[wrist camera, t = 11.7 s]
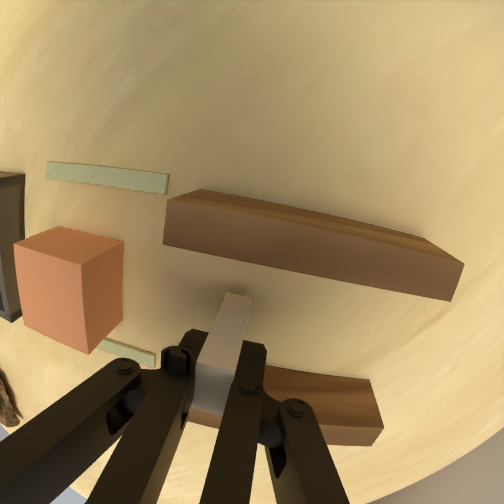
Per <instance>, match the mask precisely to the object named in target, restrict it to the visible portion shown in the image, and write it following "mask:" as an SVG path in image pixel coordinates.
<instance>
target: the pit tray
mask: <svg viewBox="0 0 504 504" xmlns="http://www.w3.org/2000/svg"><path fill="white" fill-rule="evenodd" d="M24 185H25V174H19V173H8V172H0V317H2V318H4V319H6V320H7V321H9V322H11V323H13V322H14V321H15V320H17V319H18V318H20V317H21V316H22V315H23V314H22V309H21V303H20V297H19V291H18V284H17V276H16V267H15V257H14V243H16V242H19V241H21V240H24V239H25V234H24Z"/></svg>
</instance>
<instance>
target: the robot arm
mask: <svg viewBox="0 0 504 504" xmlns="http://www.w3.org/2000/svg"><path fill="white" fill-rule="evenodd" d="M252 300H253V298H251V297H247V296H242V295H238V294H233V293H229V292H227V293H226V295H225V298H224V300H223V302H222V304H221V307H220V309H219V311H218V313H217V316H216V318H215V320H214V323H213V325H212V327H211V329H210V332H209V333H208V332H204V331H200V330H196V329H191V330H190V331H188V332H186V333H185V335H184V337H183V338H182V340H181V342H180V344H179V345H178V346H170V347H167V348H165V349H163V350H162V351H161V368H160V369H155V370H149V369H141V367H140V365H139V364H138V363H137V362H136V361H135V360H133V359H130V358H117V359H115V360H113V361H111V362H110V363H108V364H107V365H106V366H104V367H103V368H102V369H100V370H99V371H98V372H96V373H95V374H93V375H92V376H91V377H89V378H88V379H87V380H85V381H84V382H82V383H81V384H80V385H78V386H77V387H75V388H74V389H73V390H71V391H70V392H69V393H67V394H66V395H64V396H63V397H62V398H60V399H59V400H58V401H56V402H55V403H53V404H52V405H51V406H49V407H48V408H47V409H45V410H44V411H42V412H41V413H40V414H38V415H37V416H35V417H34V418H33V419H31V420H30V421H28V422H27V423H26V424H24V425H23V426H22V427H20V428H19V429H17V430H16V431H15V432H13V433H12V434H10V435H9V436H8V437H6V438H5V439H4V440H2V441H1V442H0V504H50V503H51V502H52V501H53V500H54V499H55V498H56V497H57V496H59V495H60V494H61V493H62V492H63V491H64V490H65V489H66V488H67V487H68V486H70V485H71V484H72V483H73V482H74V481H75V480H76V479H77V478H78V477H79V476H80V475H81V474H82V473H83V472H84V471H86V470H87V469H88V468H89V467H90V466H91V465H92V464H93V463H94V462H95V461H96V460H97V459H98V458H99V457H100V456H101V455H102V454H103V453H104V452H105V451H106V450H107V449H108V448H109V447H110V446H112V445H113V444H114V443H115V442H116V441H117V440H118V439H119V438H120V437H121V436H122V437H121V439H120V441H119V442H118V444H117V446H116V448H115V450H114V451H113V453H112V455H111V457H110V459H109V461H108V462H107V464H106V466H105V468H104V470H103V472H102V473H101V475H100V477H99V479H98V481H97V483H96V485H95V486H94V488H93V490H92V492H91V494H90V496H89V498H88V500H87V501H86V503H85V504H156V503H157V500H158V498H159V495H160V492H161V490H162V487H163V484H164V481H165V479H166V476H167V473H168V471H169V468H170V465H171V463H172V460H173V457H174V455H175V452H176V449H177V446H178V444H179V441H180V438H181V436H182V433H183V430H184V428H185V425H186V422H187V420H188V417H189V409H190V406H191V403H192V406H191V408H193V409H197V410H201V411H205V412H209V413H213V414H217V415H221V416H222V420H221V424H220V428H219V432H218V436H217V439H216V443H215V447H214V451H213V454H212V458H211V462H210V466H209V469H208V473H207V477H206V481H205V484H204V488H203V492H202V495H201V499H200V503H199V504H249V501H250V495H251V488H252V481H253V473H254V466H255V459H256V451H257V444H258V443H260V444H262V445H264V446H265V452H266V457H267V461H268V466H269V470H270V475H271V480H272V484H273V489H274V493H275V498H276V502H277V504H350V503H349V500H348V498H347V495H346V493H345V490H344V488H343V485H342V483H341V480H340V477H339V475H338V472H337V470H336V467H335V465H334V462H333V460H332V457H331V455H330V452H329V449H328V447H327V444H326V442H325V439H324V437H323V434H322V432H321V429H320V427H319V424H318V421H317V419H316V416H315V414H314V411H313V409H312V407H311V406H310V405H309V404H308V403H307V402H305V401H303V400H301V399H296V398H290V399H286V400H284V401H282V402H280V401H278V400H275V399H274V398H272V397H270V396H269V395H268V394H267V393H266V392H265V390H264V388H263V381H264V372H265V363H266V354H267V350H266V349H265V347H264V345H263V344H260V343H255V342H250V341H245V340H244V337H245V333H246V328H247V324H248V319H249V314H250V310H251V305H252Z"/></svg>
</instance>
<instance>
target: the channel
mask: <svg viewBox="0 0 504 504" xmlns="http://www.w3.org/2000/svg"><path fill="white" fill-rule="evenodd" d="M163 245H167V246H172V247H177V248H182V249H186V250H191V251H196V252H201V253H205V254H210V255H215V256H220V257H225V258H229V259H234V260H239V261H244V262H249V263H254V264H259V265H264V266H269V267H274V268H278V269H283V270H288V271H293V272H298V273H303V274H308V275H313V276H319V277H324V278H329V279H334V280H339V281H344V282H349V283H354V284H359V285H364V286H370V287H375V288H380V289H385V290H391V291H396V292H401V293H406V294H412V295H417V296H422V297H428V298H433V299H438V300H444V301H449V302H451V300H452V298H453V295H454V292H455V290H456V287H457V284H458V282H459V279H460V276H461V273H462V270H463V267H464V263H462V262H461V261H459V260H458V259H456V258H455V257H453V256H452V255H450V254H448V253H447V252H445V251H444V250H442V249H440V248H439V247H437V246H436V245H434V244H432V243H431V242H429V241H428V240H426V239H424V238H421V237H417V236H413V235H409V234H406V233H402V232H398V231H394V230H390V229H386V228H382V227H378V226H374V225H370V224H366V223H362V222H358V221H353V220H349V219H345V218H341V217H336V216H332V215H327V214H323V213H318V212H314V211H309V210H305V209H300V208H295V207H290V206H285V205H280V204H276V203H270V202H265V201H260V200H255V199H250V198H245V197H239V196H234V195H228V194H223V193H217V192H211V191H205V190H196V191H193V192H190V193H187V194H184V195H181V196H178V197H175V198H172V199H169V200H168V201H167V209H166V218H165V228H164V238H163ZM263 388H264V390H265V392H266V393H267V394H268V395H269V396H270V397H272V398H274V399H275V400H278V401H280V402H282V401H284V400H286V399H290V398H296V399H301V400H303V401H305V402H307V403H308V404H309V405H310V406H311V407H312V409H313V411H314V414H315V416H316V419H317V421H318V424H319V427H320V429H321V432H322V434H323V437H324V439H325V442H326V444H327V445H343V446H372V444H373V443H374V442H375V440H376V439H377V437H378V436H379V435H380V433H381V432H382V430H383V429H384V425H383V422H382V419H381V415H380V412H379V409H378V405H377V402H376V399H375V396H374V393H373V389H372V386H371V383H370V380H365V379H355V378H346V377H337V376H329V375H322V374H314V373H308V372H301V371H295V370H289V369H283V368H277V367H271V366H266V365H265V372H264V381H263ZM191 406H192V403H191ZM191 406H190V409H189V417H188V420H187V421H189V422H193V423H197V424H200V425H205V426H209V427H213V428H217V429H219V428H220V424H221V420H222V416H221V415H217V414H213V413H209V412H205V411H201V410H197V409H193V408H191Z"/></svg>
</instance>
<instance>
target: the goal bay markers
mask: <svg viewBox="0 0 504 504" xmlns="http://www.w3.org/2000/svg"><path fill="white" fill-rule="evenodd" d="M168 177H169V175H168V174H161V173H154V172H146V171H138V170H130V169H122V168H113V167H104V166H94V165H83V164H72V163H59V162H47V171H46V178H48V179H57V180H65V181H73V182H81V183H88V184H96V185H103V186H110V187H117V188H124V189H130V190H137V191H144V192H150V193H156V194H162V195H165V194H166V192H167V185H168ZM96 348H97V349H100V350H103V351H105V352H108V353H111V354H113V355H116V356H119V357H122V358H130V359H133V360H135V361H136V362H137V363H140V364H143V365H146V366H149V367H152V368H155V366H156V354H154V353H150V352H147V351H144V350H141V349H137V348H134V347H131V346H128V345H125V344H122V343H119V342H116V341H113V340H111V339H108V338H104V339H103V340H102V341H101V342H100V343H99V345H98V346H97V347H96Z"/></svg>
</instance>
